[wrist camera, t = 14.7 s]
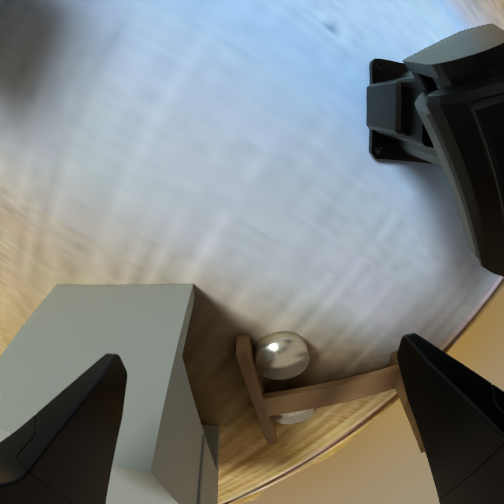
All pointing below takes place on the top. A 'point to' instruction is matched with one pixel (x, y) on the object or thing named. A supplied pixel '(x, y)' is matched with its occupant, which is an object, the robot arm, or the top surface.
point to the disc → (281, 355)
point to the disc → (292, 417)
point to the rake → (316, 391)
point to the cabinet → (137, 388)
